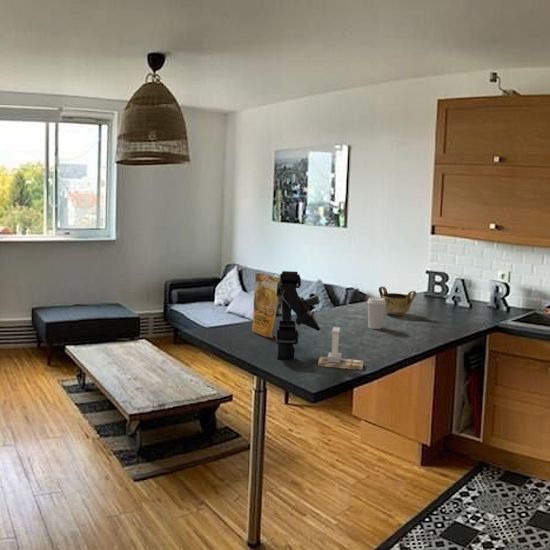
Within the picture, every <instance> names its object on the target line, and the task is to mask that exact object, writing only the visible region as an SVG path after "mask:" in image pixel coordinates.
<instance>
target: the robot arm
mask: <svg viewBox="0 0 550 550" xmlns="http://www.w3.org/2000/svg"><path fill="white" fill-rule="evenodd" d="M279 274H280V275H279V278H280V281H279V283H278V284H277V297H278V304H281V320H279V323H278V328H276V333H275V344H276V345H277V357H276V359H277V360H288V361H290V360H291V361H293V360H294V358H295V355H296V346H295V345H297V344H298V345H299V336H300V334H299V332H298V330H297V329H296V328H297V327H296V325H297V326H301V325H304V326H307V327H309V328H311V329H314V330H316V331H318V332H319V331H320V330H321V327H320V325H319V323H318V321H317V319H316V318H315V313H316V311H315V309H316V306H317V305H319V304H320V302H321V299H320V297H319V296H318V295H317V294H315V293H314V292H312V293H310V294H309V297H307V298H304V297H303V296H300V295H299V294H298V293H299V292H297V289H300V287H301V284H302V281H301V279H302V278H301V276H300V274H299V273H298V271H289V270H288V271H286V270H283V271H281V273H279ZM313 310H314V311H313ZM292 311H293V313H294V314H295V315H296V316H295V317H296V318H295V320H292Z"/></svg>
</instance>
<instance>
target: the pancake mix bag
mask: <svg viewBox="0 0 550 550" xmlns="http://www.w3.org/2000/svg"><path fill="white" fill-rule="evenodd" d="M279 281H280V277H278V276H277V277H276V276H273V275H271V274H270V275H269V274H266V273H259V272H257V273H254V289H253V291H254V292H253V293H254V294H253V295H254V296H253V318H252V319H253V320H252V328H251V330H252V331H253V333H254V334H257V335H260V336H261V337H264V338H274V336H273V328H274V325H275V320H276V319H275V318H276V315H277V309H278V305H279V302H278V297H277V284H278V283H279ZM252 331H251V332H252Z"/></svg>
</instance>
